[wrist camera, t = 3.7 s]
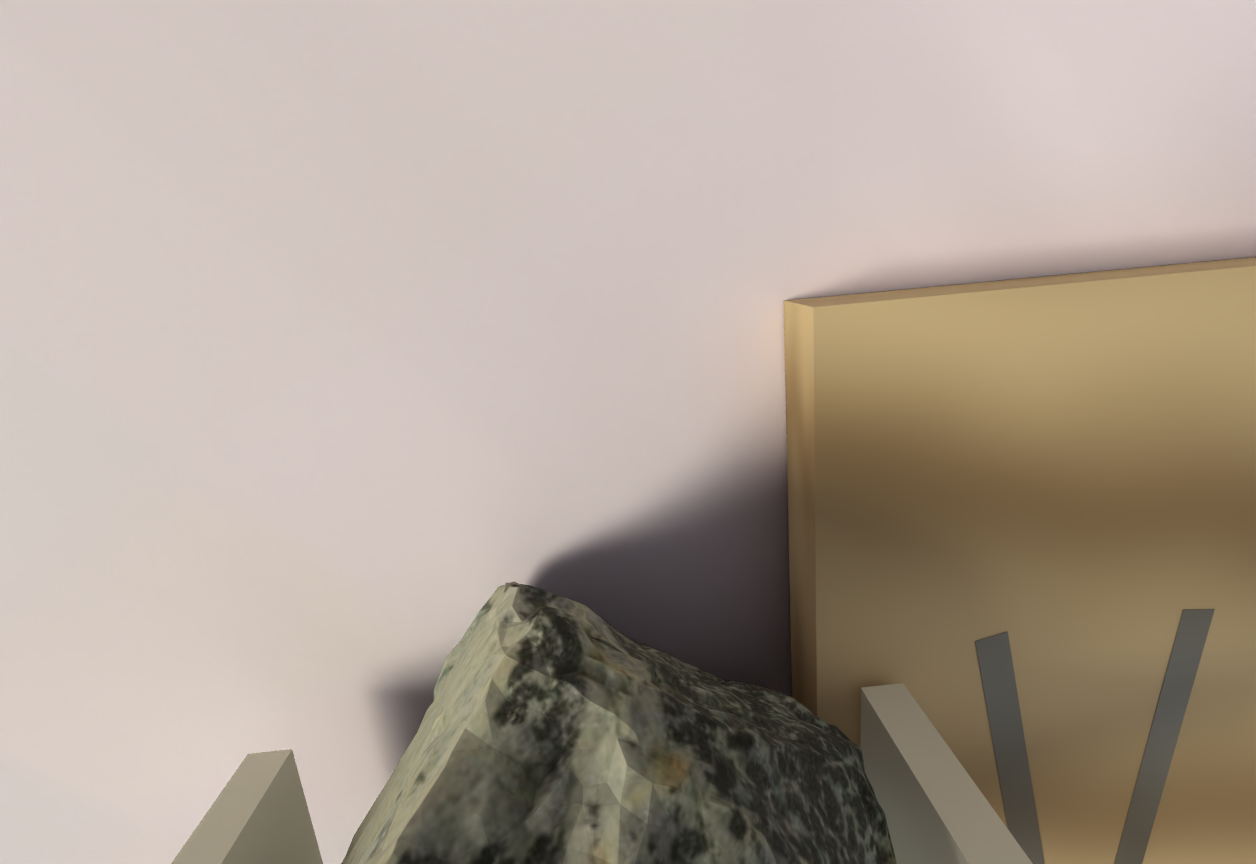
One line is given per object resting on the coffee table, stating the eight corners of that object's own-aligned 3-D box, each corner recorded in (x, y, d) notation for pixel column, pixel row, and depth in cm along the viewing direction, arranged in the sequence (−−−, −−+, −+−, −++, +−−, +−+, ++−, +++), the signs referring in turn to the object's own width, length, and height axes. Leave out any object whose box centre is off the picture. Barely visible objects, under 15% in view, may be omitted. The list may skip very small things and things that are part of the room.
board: (783, 300, 11) (814, 307, 10) (1639, 221, 12) (1787, 216, 10) (800, 1093, 17) (821, 1174, 15) (1391, 1007, 17) (1465, 1077, 16)
